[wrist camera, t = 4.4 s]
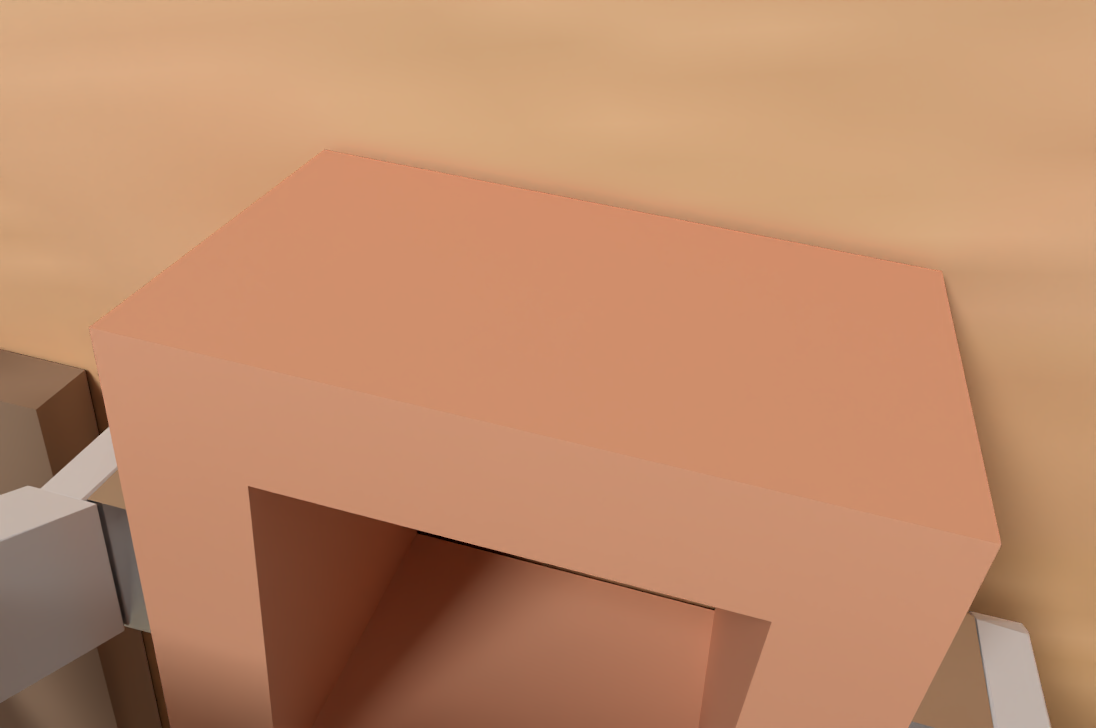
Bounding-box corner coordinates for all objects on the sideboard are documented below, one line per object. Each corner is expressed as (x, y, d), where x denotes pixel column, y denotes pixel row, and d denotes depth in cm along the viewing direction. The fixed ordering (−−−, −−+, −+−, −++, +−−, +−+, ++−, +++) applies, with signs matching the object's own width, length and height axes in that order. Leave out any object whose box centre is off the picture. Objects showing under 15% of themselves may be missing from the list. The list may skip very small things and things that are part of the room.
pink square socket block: (941, 272, 9) (999, 544, 6) (784, 692, 13) (767, 1003, 10) (324, 150, 10) (90, 328, 7) (338, 571, 14) (188, 818, 11)
